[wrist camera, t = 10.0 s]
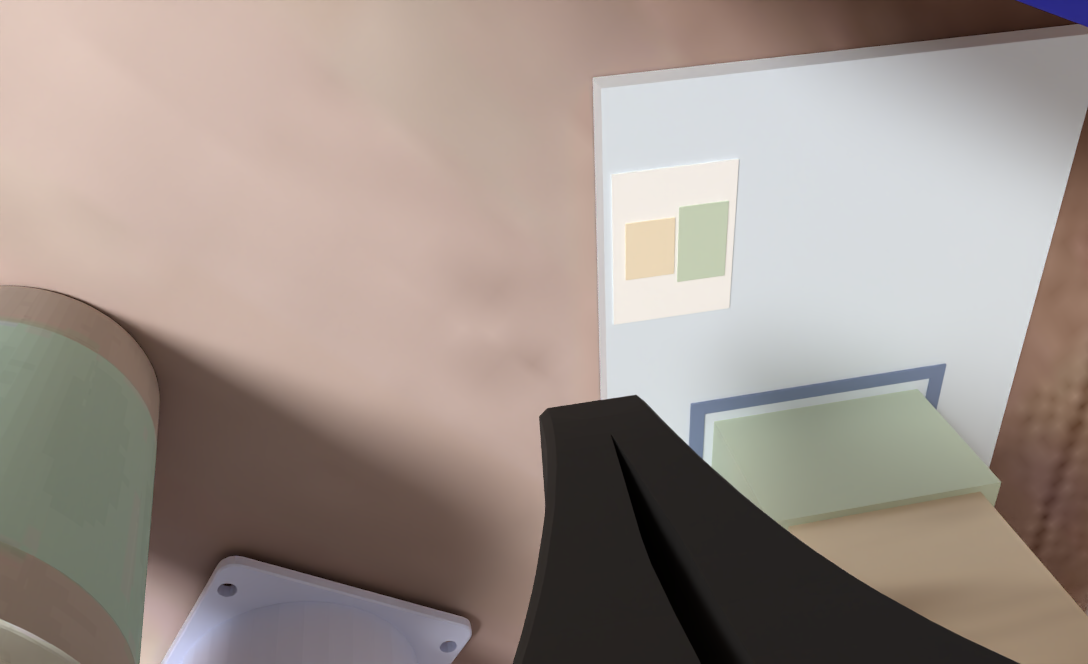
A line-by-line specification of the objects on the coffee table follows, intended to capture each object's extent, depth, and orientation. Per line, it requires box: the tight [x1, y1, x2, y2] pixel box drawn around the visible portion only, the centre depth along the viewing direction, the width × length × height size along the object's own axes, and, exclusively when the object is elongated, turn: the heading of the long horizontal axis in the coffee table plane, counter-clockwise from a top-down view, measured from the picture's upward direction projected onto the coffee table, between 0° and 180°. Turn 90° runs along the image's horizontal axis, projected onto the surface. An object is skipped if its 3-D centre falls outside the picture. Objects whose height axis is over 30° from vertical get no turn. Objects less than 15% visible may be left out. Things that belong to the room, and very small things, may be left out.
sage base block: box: [712, 389, 1001, 531], centre depth 26 cm, size 6×6×4 cm
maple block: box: [788, 492, 1088, 664], centre depth 22 cm, size 5×5×5 cm
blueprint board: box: [593, 24, 1088, 468], centre depth 26 cm, size 18×12×1 cm, turn 3°
